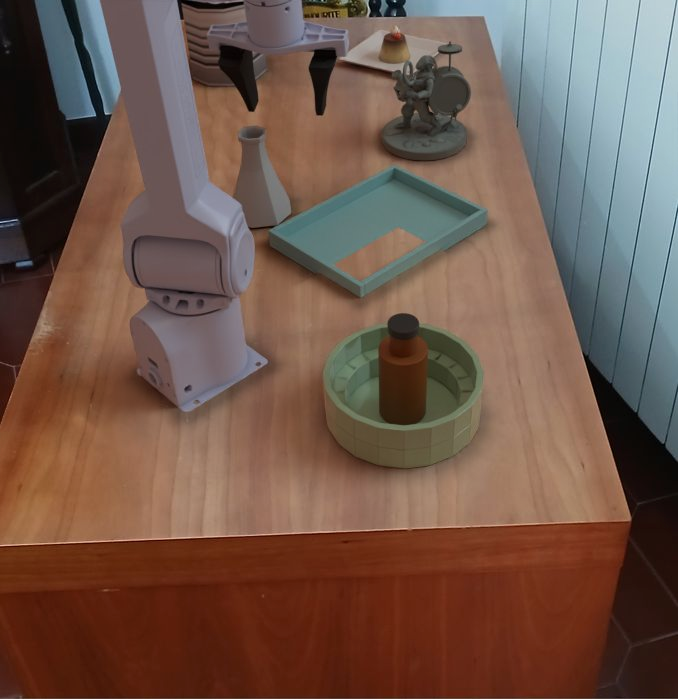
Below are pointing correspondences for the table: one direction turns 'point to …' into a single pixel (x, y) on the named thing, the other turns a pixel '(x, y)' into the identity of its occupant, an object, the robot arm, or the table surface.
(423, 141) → the figurine
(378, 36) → the dessert
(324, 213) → the tray
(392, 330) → the brown cylinder
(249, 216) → the flask
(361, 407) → the bowl
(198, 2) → the can
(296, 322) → the table surface
